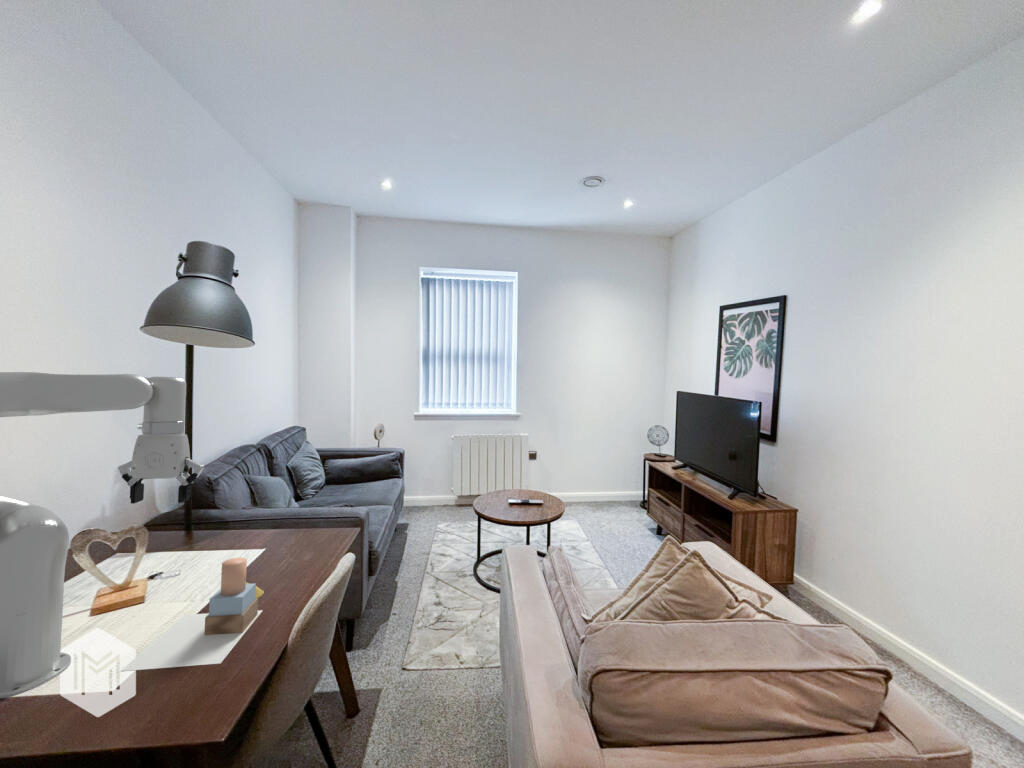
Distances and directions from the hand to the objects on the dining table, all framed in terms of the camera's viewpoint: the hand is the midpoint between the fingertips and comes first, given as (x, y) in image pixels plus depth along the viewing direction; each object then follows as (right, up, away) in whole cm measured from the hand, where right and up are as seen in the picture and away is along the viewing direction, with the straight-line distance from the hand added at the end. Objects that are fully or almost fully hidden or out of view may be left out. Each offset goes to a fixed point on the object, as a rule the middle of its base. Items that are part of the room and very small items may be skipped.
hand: (160, 501), depth 97 cm
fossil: (+8, -32, +16) cm, 36 cm away
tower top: (+15, -26, +2) cm, 31 cm away
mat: (+12, -31, -3) cm, 33 cm away
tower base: (+15, -30, +2) cm, 34 cm away
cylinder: (+16, -22, +2) cm, 27 cm away
